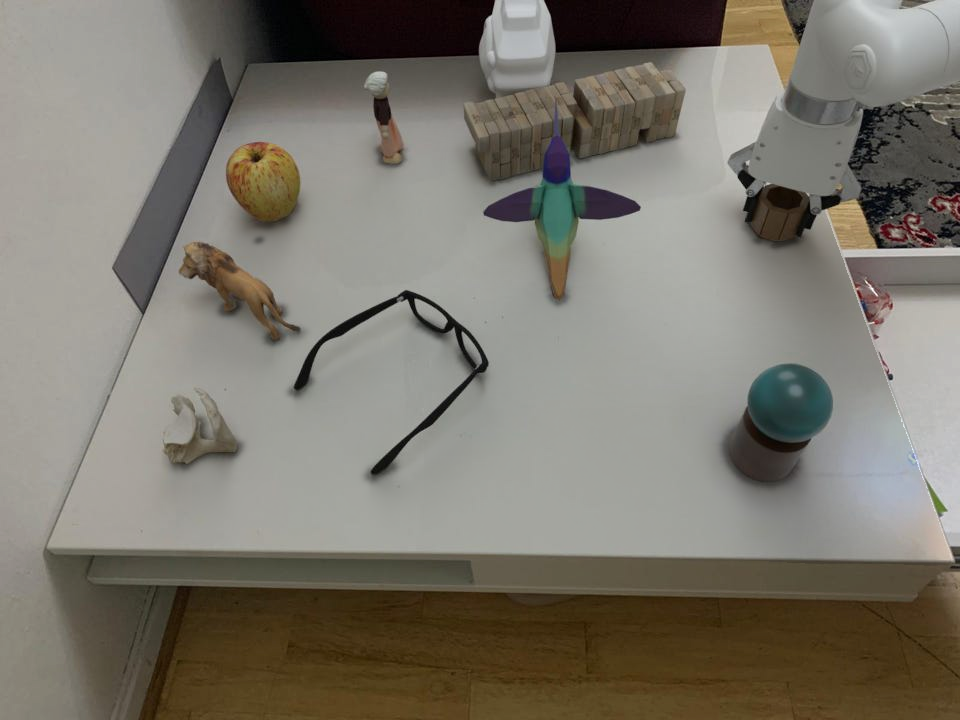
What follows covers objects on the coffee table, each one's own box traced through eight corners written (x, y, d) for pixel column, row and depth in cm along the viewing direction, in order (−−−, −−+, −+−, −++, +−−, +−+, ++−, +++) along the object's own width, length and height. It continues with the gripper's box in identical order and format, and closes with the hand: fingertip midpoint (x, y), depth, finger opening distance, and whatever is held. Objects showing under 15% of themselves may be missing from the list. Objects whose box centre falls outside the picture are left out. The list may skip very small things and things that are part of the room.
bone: (135, 442, 76) (145, 367, 71) (188, 422, 81) (202, 351, 76) (185, 492, 73) (199, 418, 68) (237, 468, 78) (254, 397, 73)
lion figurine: (193, 307, 89) (163, 256, 82) (220, 278, 92) (194, 226, 84) (289, 348, 84) (266, 298, 77) (315, 316, 87) (296, 265, 80)
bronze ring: (802, 217, 92) (813, 189, 88) (791, 246, 89) (802, 218, 85) (758, 205, 94) (767, 177, 90) (746, 232, 91) (755, 205, 87)
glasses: (505, 387, 81) (506, 360, 77) (378, 483, 74) (371, 458, 70) (413, 305, 88) (409, 277, 84) (290, 385, 81) (279, 358, 77)
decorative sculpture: (615, 193, 97) (628, 95, 85) (631, 298, 86) (648, 203, 74) (488, 197, 98) (483, 100, 86) (487, 302, 87) (481, 208, 75)
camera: (550, 62, 115) (553, -42, 102) (557, 133, 105) (561, 28, 92) (481, 65, 116) (476, -38, 103) (481, 136, 105) (474, 32, 92)
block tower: (651, 111, 108) (464, 150, 104) (661, 59, 101) (461, 98, 97) (674, 142, 104) (480, 185, 99) (687, 90, 97) (478, 133, 92)
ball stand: (806, 439, 74) (853, 365, 64) (788, 497, 71) (835, 429, 60) (736, 412, 76) (770, 336, 66) (715, 467, 73) (748, 397, 62)
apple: (286, 179, 102) (265, 118, 94) (321, 210, 98) (303, 150, 90) (230, 210, 99) (203, 150, 91) (264, 244, 95) (239, 184, 87)
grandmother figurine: (412, 164, 103) (399, 84, 92) (386, 171, 102) (370, 92, 92) (395, 133, 107) (381, 53, 97) (370, 140, 106) (354, 61, 96)
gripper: (914, 95, 76) (852, 223, 90) (750, 59, 81) (716, 186, 96) (902, 136, 72) (839, 263, 87) (731, 96, 77) (699, 222, 92)
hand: (775, 221), depth 91 cm, fingers closed on bronze ring, 5 cm apart
